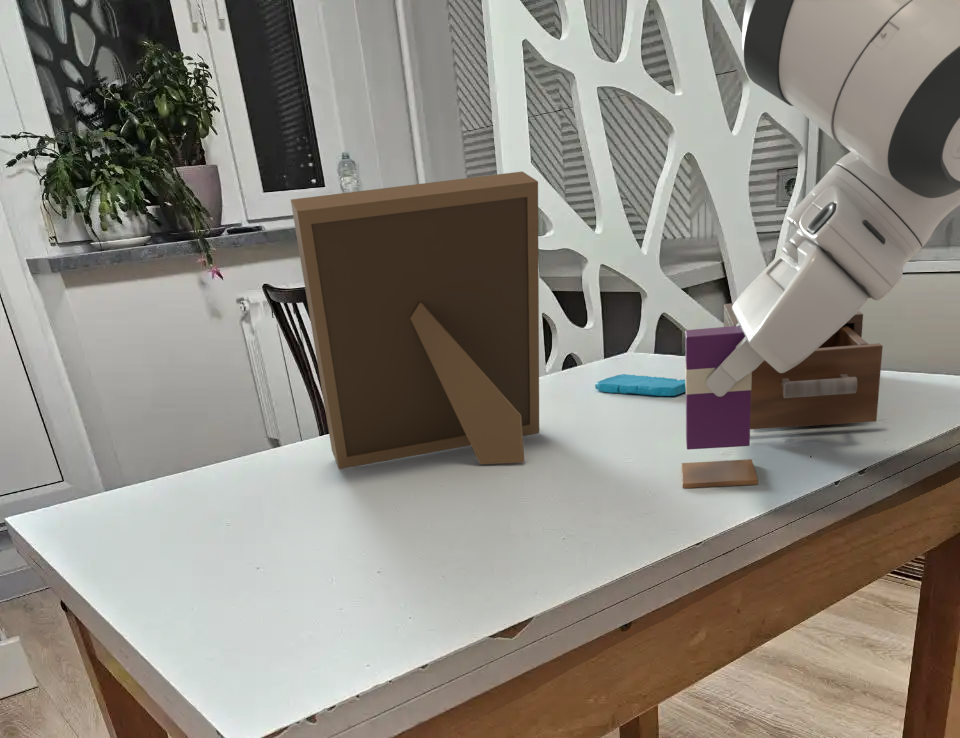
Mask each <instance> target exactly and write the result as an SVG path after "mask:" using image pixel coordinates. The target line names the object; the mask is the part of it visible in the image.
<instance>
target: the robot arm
mask: <svg viewBox="0 0 960 738" xmlns="http://www.w3.org/2000/svg"><path fill="white" fill-rule="evenodd" d="M741 30H742V31H741V32H742V33H741V45H742V47H741V48H742V57H743V63H744V68H745V72H746V74H747V76H748V78H749V79H750V80H751V81H752V83H754V84H755V85H757V86H759V87H760V88H761V89H763V90H765V91H766V92H768V93H770V94H771V95H773V96H774V97H775V98H777V99H778V100H780V101H782V102H783V103H785V104H786V105H788V106H791V107H794V108H795V109H796V110H798V111H799V112H800V113H801V114H802V115H804V116H805V117H806V118H807V119H808V120H810V122H812V123H813V124H814V125H815V126H817V127H818V128H819V129H820V130H821V131H823V132H824V133H825V134H826V135H827V136H828V137H830V138H831V139H832V140H833V141H835V142H836V143H837V144H838V145H841V146H842V147H845V149H847V150H848V151H849V152H848V153H846V154H845V155H843V156H842V157H841V158H840V159H839V160H838V161H836V163H835V164H834V165H833V166H832V167H831V168H830V169H829V170H828V171H827V173H825V174H824V176H823V177H822V178H821V179H819V181H818V182H817V184H816V185H814V187H813V188H812V189H811V190H810V191H809V193H808V194H807V195H806V196H805V197H804V198H802V200H801V201H800V202H799V204H798V205H797V206H796V207H795V208H794V209H793V210H792V211H791V212H790V213H789V214H788V215H787V217H786V220H787V222H788V224H789V225H790V226H791V228H793V229H794V231H795V233H794V234H793V235H792V236H791V237H790V238H789V241H787V242H785V244H784V245H782V247H781V252H780V253H779V254H778V255H777V256H776V257H775V258H774V259H773V260H772V261H771V262H769V264H768V265H767V266H766V267H765V268H764V269H763V270H762V271H761V272H760V273H759V274H758V275H757V276H756V277H755V279H753V280H752V281H751V283H750V284H749V285H747V287H746V288H745V289H743V291H742V292H741V293H740V294H739V295H738V296H737V298H736V300H735V301H734V302H733V303H734V304H733V306H732V310H733V312H734V314H735V316H736V319H737V321H738V324H737V325H736V326H740V327H741V329H742V331H743V333H744V335H745V337H744V338H743V339H742V341H741V342H740V343H739V344H738V345H737V346H736V349H735V350H734V351H733V352H732V353H731V354H730V355H729V356H728V357H727V358H726V359H725V360H724V361H723V362H722V363H721V364H720V363H719V364H718V365H717V367H716V368H715V369H714V370H713V371H712V372H711V373H710V374H709V375H708V376H707V378H706V384H707V387H708V388H709V389H710V390H711V391H712V392H713V393H714V394H715V395H716V396H718V397H722V396H724V395H725V394H726V393H727V392H728V391H729V390H730V389H731V388H732V387H733V386H734V385H735V384H736V383H737V382H738V381H740V380H741V379H742V378H744V377H745V376H747V375H748V374H749V373H751V372H752V371H754V370H755V369H756V368H757V367H758V366H759V365H760V364H761V363H762V362H763V361H764V360H765V361H766V362H767V363H769V364H770V365H771V366H772V367H773V368H774V369H775V370H776V371H778V372H779V373H784V372H786V371H788V370H790V369H792V368H793V367H795V366H796V365H798V364H799V363H801V362H802V361H803V360H805V359H806V358H807V357H808V356H809V355H811V354H812V353H813V352H814V351H815V350H816V349H817V348H819V347H820V346H821V345H822V344H823V343H824V342H825V341H827V340H828V339H829V338H830V337H831V336H832V335H833V334H834V333H835V332H837V331H838V330H839V329H840V328H841V327H842V326H843V325H844V324H845V323H847V322H848V321H849V320H850V319H851V318H852V317H853V316H854V315H855V314H856V313H857V312H858V311H859V312H860V310H861V309H862V308H863V307H864V306H865V305H866V303H867V302H868V300H869V299H872V300H874V301H880V300H882V299H883V298H884V297H886V296H887V295H888V294H889V293H890V292H891V291H892V290H893V289H894V288H895V287H896V286H897V285H898V284H899V282H900V281H901V280H902V278H903V273H904V268H905V266H906V265H907V264H908V263H909V262H910V260H911V259H912V258H913V257H915V255H917V253H919V252H920V250H921V249H922V248H923V247H924V246H925V245H926V244H927V243H928V241H929V240H930V239H931V237H932V235H933V233H934V232H935V230H936V228H937V227H938V225H940V223H941V222H942V221H943V219H945V218H946V216H948V215H949V214H950V213H951V212H952V211H954V210H955V209H956V208H958V207H959V206H960V0H746V1H745V5H744V12H743V19H742V29H741Z"/></svg>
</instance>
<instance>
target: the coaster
mask: <svg viewBox="0 0 960 738" xmlns="http://www.w3.org/2000/svg"><path fill="white" fill-rule="evenodd" d="M680 465H681V466H680V467H681V483H682V484H681V485H682V489H693V488H712V487H731V486H732V487H733V486H752V485H758V484H759V479H758V476H757V472H756V469H755V466H754V462H753V459H751V458H750V459H749V458H748V459H730V460H718V461H717V460H714V461H713V460H712V461H698V462H696V461H695V462H682V463H681V464H680Z"/></svg>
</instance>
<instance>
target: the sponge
mask: <svg viewBox="0 0 960 738" xmlns="http://www.w3.org/2000/svg"><path fill="white" fill-rule="evenodd" d="M594 389H595V390H598V391H599V392H604V393H609V394H624V395H628V394H630V395H631V394H634V395H642V396H655V397H656V396H658V397H675V396H677V395H680V394H683V393H686V386H685V379H677V378H670V377H664V376H663V377H661V376H659V377H658V376H648V375H635V374H626V373H622V374H617V375H614V376H610V377H606V378H604V379H602V380H599V381H596V382H595V384H594Z"/></svg>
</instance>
